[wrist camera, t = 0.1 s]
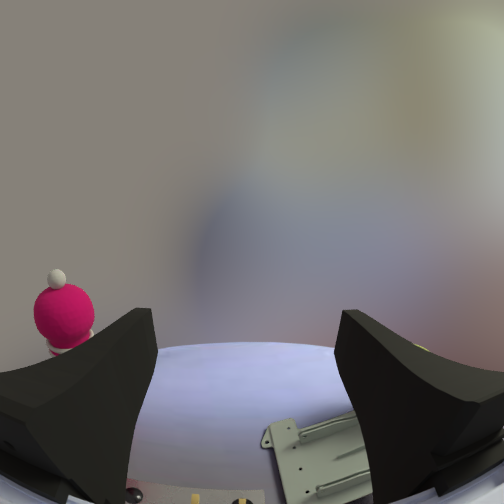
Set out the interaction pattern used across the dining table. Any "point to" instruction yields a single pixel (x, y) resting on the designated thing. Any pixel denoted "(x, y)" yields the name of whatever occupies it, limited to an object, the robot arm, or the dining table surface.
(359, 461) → the metal bracket
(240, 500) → the trammel beam
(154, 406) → the dining table surface
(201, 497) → the bolt strip
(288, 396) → the dining table surface
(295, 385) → the dining table surface
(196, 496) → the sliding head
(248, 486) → the dining table surface
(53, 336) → the pepper mill
